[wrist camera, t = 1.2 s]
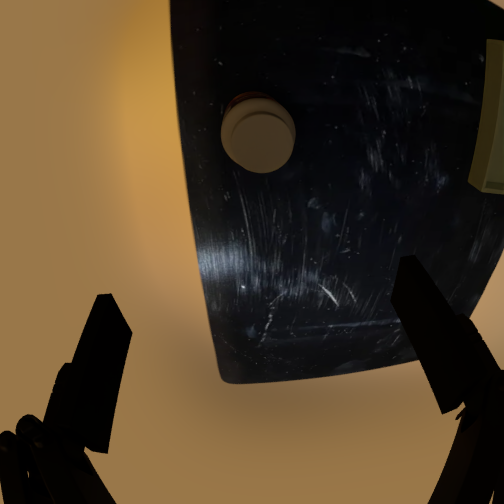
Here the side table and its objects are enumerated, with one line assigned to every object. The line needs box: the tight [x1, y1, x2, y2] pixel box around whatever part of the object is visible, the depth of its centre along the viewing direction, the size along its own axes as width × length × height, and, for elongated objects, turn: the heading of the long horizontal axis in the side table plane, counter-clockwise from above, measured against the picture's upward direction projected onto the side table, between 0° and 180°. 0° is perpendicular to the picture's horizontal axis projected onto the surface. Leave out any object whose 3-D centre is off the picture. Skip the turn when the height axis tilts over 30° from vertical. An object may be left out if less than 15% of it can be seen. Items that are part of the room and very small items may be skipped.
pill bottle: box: [221, 91, 296, 173], centre depth 22 cm, size 5×5×10 cm
